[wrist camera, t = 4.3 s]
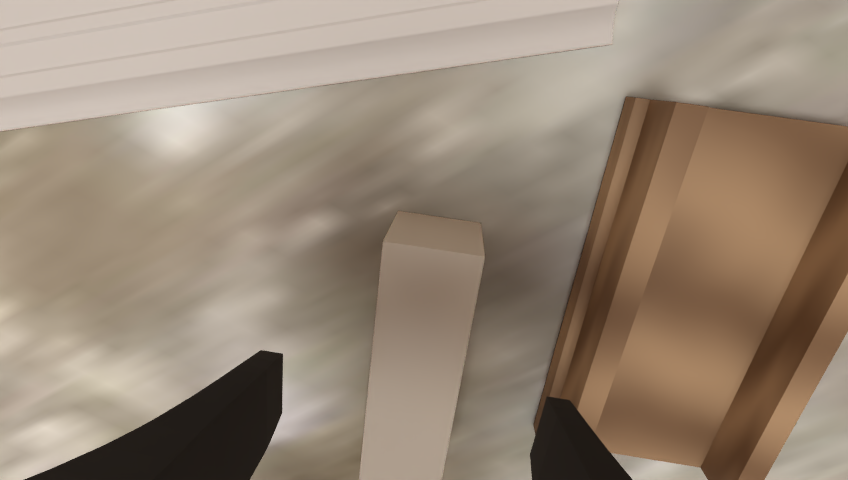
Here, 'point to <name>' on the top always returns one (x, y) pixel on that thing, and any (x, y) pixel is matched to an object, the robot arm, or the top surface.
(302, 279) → the top surface
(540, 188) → the top surface
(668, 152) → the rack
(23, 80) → the baseboard
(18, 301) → the top surface
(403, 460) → the beige rectangular block
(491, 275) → the top surface
